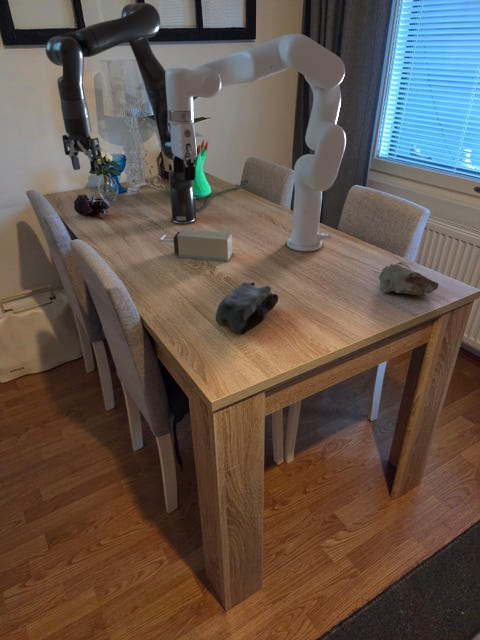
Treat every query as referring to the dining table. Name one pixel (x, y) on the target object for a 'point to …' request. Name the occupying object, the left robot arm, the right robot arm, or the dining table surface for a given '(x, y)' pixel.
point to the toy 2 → (200, 173)
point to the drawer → (171, 241)
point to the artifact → (405, 280)
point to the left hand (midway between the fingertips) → (86, 171)
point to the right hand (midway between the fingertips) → (184, 176)
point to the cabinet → (205, 244)
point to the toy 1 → (90, 206)
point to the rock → (245, 307)
